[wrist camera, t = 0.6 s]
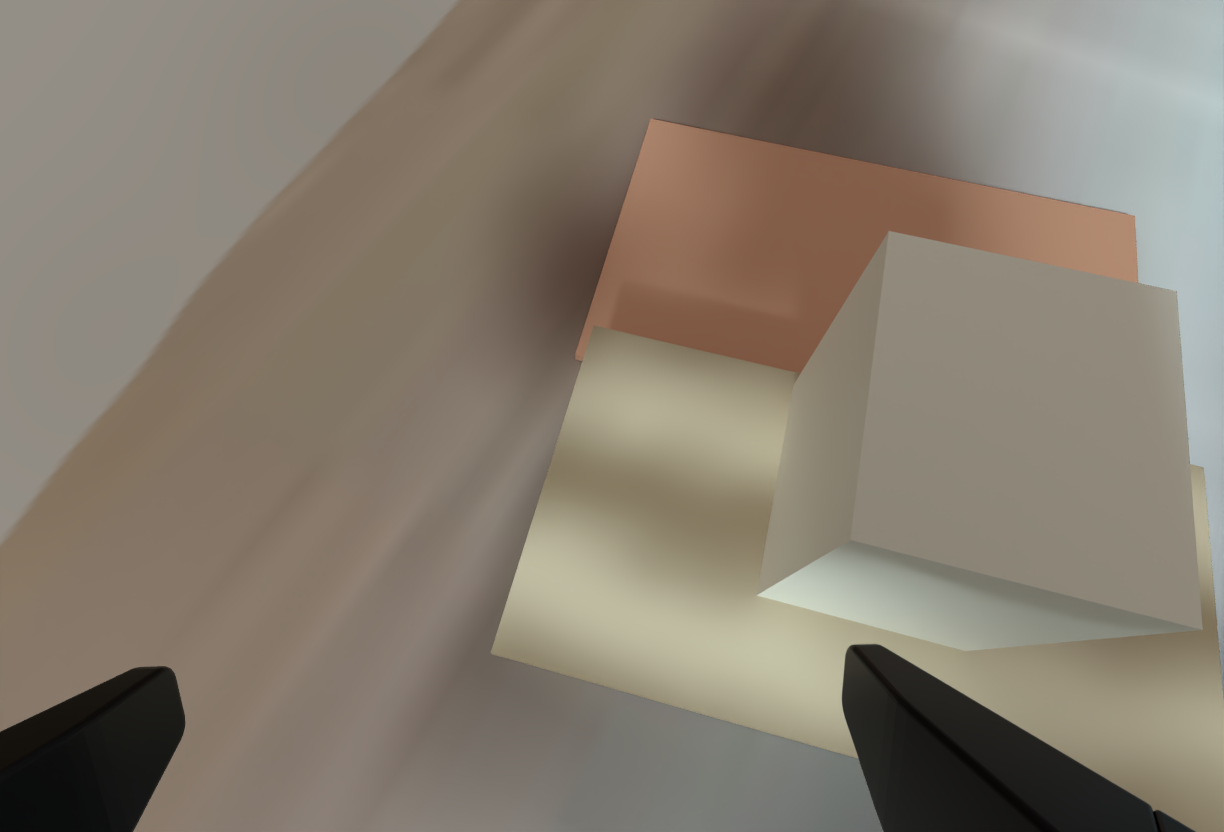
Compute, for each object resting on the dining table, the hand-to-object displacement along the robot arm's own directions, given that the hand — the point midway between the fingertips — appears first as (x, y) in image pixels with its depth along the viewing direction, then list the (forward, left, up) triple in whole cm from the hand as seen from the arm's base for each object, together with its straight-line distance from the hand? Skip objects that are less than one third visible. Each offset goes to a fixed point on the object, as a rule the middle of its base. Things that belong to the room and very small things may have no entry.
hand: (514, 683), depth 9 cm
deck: (-4, -9, -14) cm, 17 cm away
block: (-3, -10, -10) cm, 15 cm away
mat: (+2, -20, -14) cm, 24 cm away
